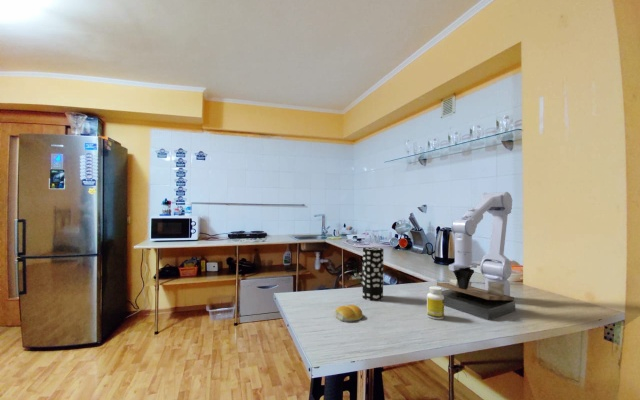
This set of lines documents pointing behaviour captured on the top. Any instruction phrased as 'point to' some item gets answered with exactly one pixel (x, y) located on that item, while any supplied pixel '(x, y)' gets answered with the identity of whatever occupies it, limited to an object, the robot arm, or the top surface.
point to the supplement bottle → (435, 303)
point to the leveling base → (477, 304)
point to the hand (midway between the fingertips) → (463, 288)
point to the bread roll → (348, 313)
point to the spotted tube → (372, 274)
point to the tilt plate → (480, 290)
